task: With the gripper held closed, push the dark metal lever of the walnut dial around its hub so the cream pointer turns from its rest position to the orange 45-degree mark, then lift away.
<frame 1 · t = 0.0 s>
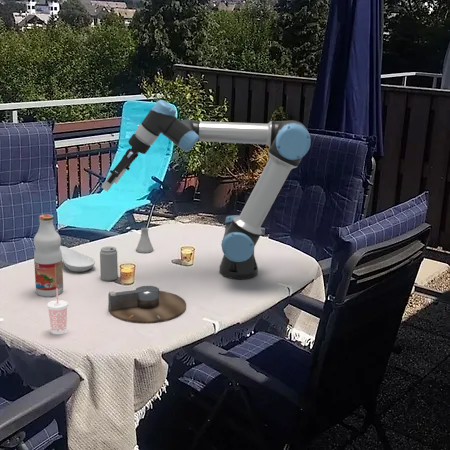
hand: (108, 185, 229), 36 cm above the table, tool tilted 35°, fingers open, 13 cm apart
dial board: (147, 307, 213), on the table
beverage cup: (58, 331, 194), on the table
flask: (144, 251, 272), on the table
dial: (134, 297, 210), point 4 cm above the table, hinge at 0.0°
fruit juice: (49, 292, 223), on the table
beverage can: (109, 279, 238), on the table
spoon rest: (69, 267, 250), on the table
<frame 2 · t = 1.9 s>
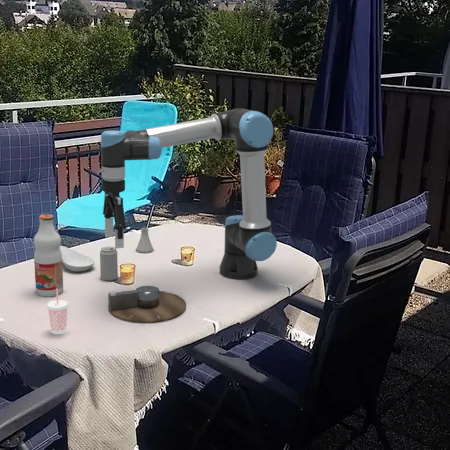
hand: (114, 242, 210), 22 cm above the table, tool pointing down, fingers open, 12 cm apart
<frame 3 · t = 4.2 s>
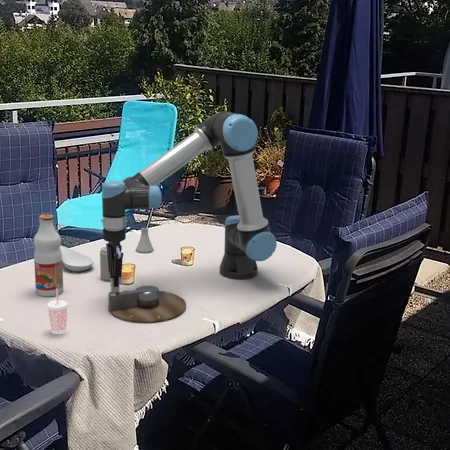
hand: (115, 294, 215), 3 cm above the table, tool pointing down, fingers closed
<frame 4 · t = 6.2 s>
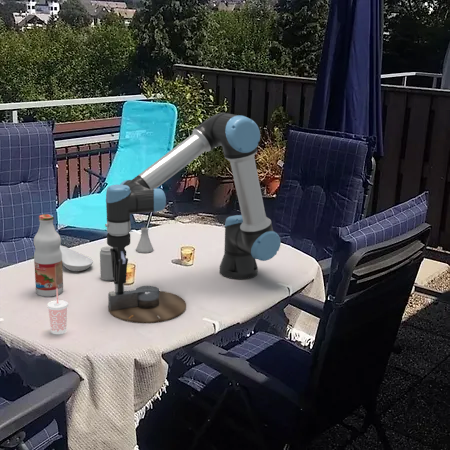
hand: (119, 300, 210), 3 cm above the table, tool pointing down, fingers closed
dial: (134, 297, 210), point 4 cm above the table, hinge at 0.0°, touching gripper
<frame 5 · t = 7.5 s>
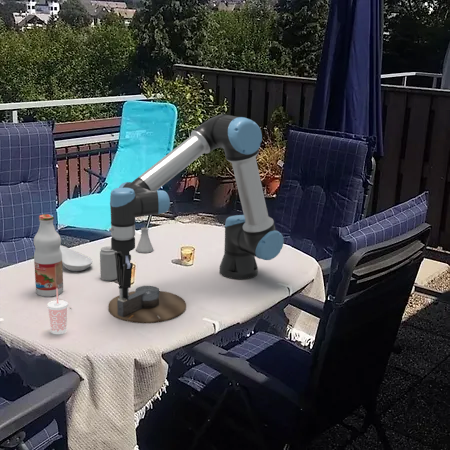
hand: (124, 304, 207), 3 cm above the table, tool pointing down, fingers closed
dial: (138, 299, 208), point 4 cm above the table, hinge at 30.5°, touching gripper
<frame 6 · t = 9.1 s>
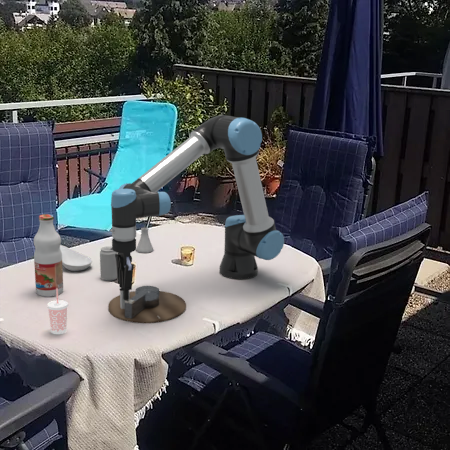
hand: (124, 307, 205), 3 cm above the table, tool pointing down, fingers closed
dial: (141, 300, 208), point 4 cm above the table, hinge at 44.1°
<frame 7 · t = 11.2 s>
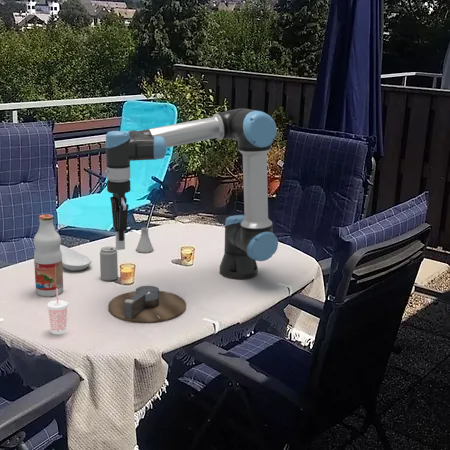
hand: (120, 249, 210), 20 cm above the table, tool pointing down, fingers closed
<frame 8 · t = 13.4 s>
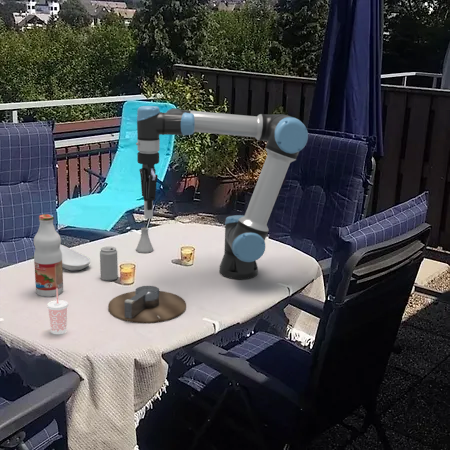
hand: (148, 217, 223), 26 cm above the table, tool pointing down, fingers closed
at the end: dial at +44° (first picture: +0°); beverage cup moved 0.2 cm from its start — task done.
